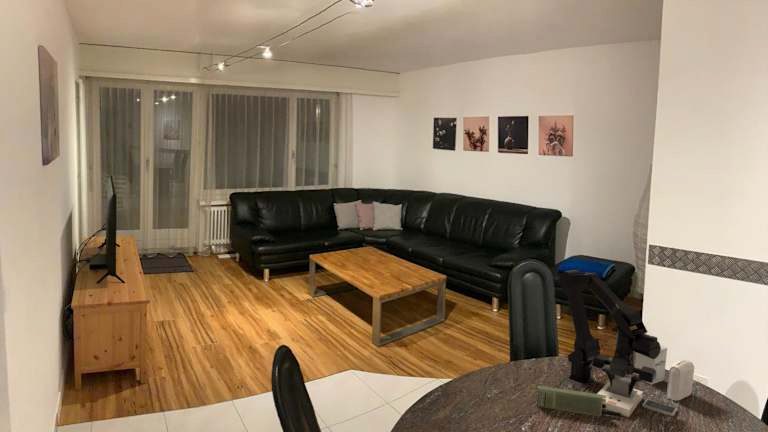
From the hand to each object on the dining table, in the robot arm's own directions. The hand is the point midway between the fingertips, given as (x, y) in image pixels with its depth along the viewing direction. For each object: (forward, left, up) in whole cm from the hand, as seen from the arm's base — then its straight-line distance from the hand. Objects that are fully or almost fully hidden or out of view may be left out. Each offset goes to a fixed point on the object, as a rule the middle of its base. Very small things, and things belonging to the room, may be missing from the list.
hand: (621, 391), depth 172 cm
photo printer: (+15, +15, -2) cm, 21 cm away
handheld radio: (-8, -18, -3) cm, 20 cm away
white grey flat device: (0, -4, -2) cm, 4 cm away
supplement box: (+4, +22, -2) cm, 22 cm away
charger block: (0, 0, -1) cm, 1 cm away
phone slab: (+12, +1, -2) cm, 12 cm away
